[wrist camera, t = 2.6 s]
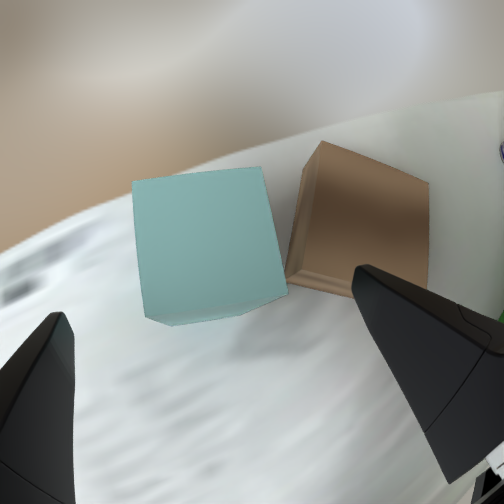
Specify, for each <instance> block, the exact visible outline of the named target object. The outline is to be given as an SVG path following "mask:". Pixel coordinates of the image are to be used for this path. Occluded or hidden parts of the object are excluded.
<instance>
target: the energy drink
mask: <svg viewBox="0 0 504 504" xmlns="http://www.w3.org/2000/svg"><path fill="white" fill-rule="evenodd" d="M500 154H501V158H502V161H503V163H504V142H503V143H502V144H501V147H500Z"/></svg>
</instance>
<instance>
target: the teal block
mask: <svg viewBox="0 0 504 504" xmlns="http://www.w3.org/2000/svg"><path fill="white" fill-rule="evenodd" d="M132 197H133V213H134V226H135V238H136V248H137V258H138V267H139V276H140V284H141V292H142V299H143V306H144V313H145V317H146V318H149V319H152V320H155V321H157V322H160V323H163V324H166V325H169V326H177V325H183V324H190V323H196V322H203V321H209V320H215V319H221V318H227V317H233V316H239V315H242V314H244V313H246V312H248V311H251V310H253V309H255V308H258V307H260V306H262V305H265V304H267V303H269V302H271V301H274V300H276V299H278V298H280V297H283V296H285V295H287V294H289V293H288V289H287V284H286V279H285V274H284V269H283V264H282V260H281V255H280V250H279V245H278V241H277V236H276V231H275V227H274V222H273V218H272V213H271V209H270V204H269V200H268V195H267V191H266V186H265V182H264V177H263V173H262V169H261V167H249V168H238V169H227V170H217V171H207V172H198V173H190V174H182V175H174V176H166V177H159V178H152V179H145V180H138V181H132Z"/></svg>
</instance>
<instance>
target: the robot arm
mask: <svg viewBox="0 0 504 504" xmlns="http://www.w3.org/2000/svg"><path fill="white" fill-rule="evenodd" d="M351 291H352V294H353V297H354V299H355V301H356V303H357V305H358V308H359V310H360V312H361V314H362V317H363V319H364V321H365V323H366V326H367V328H368V330H369V332H370V334H371V335H372V337H373V339H374V341H375V343H376V344H377V346H378V348H379V350H380V351H381V353H382V355H383V357H384V359H385V360H386V362H387V364H388V366H389V368H390V369H391V371H392V373H393V375H394V377H395V379H396V380H397V382H398V384H399V386H400V388H401V390H402V392H403V393H404V395H405V397H406V399H407V401H408V403H409V405H410V407H411V409H412V411H413V413H414V415H415V416H416V418H417V420H418V422H419V424H420V426H421V428H422V430H423V432H424V435H425V437H426V439H427V441H428V443H429V445H430V447H431V449H432V451H433V453H434V455H435V457H436V459H437V461H438V463H439V465H440V468H441V470H442V472H443V474H444V476H445V478H446V480H447V482H448V484H451V483H452V482H454V481H455V480H457V479H458V478H459V477H461V476H462V475H464V474H465V473H466V472H468V471H469V470H471V469H472V468H473V467H475V466H476V465H477V464H478V463H480V462H481V461H482V460H484V459H486V461H487V462H488V464H489V466H490V467H489V468H488V469H487V470H486V471H484V472H483V473H482V474H481V475H479V476H478V477H477V478H476V482H475V487H474V492H473V496H472V501H471V504H504V323H502V322H499V321H497V320H494V319H491V318H489V317H487V316H484V315H482V314H479V313H477V312H475V311H472V310H470V309H468V308H466V307H464V306H462V305H459V304H456V303H455V302H453V301H451V300H448V299H446V298H444V297H442V296H440V295H437V294H435V293H433V292H431V291H429V290H426V289H424V288H422V287H420V286H418V285H415V284H413V283H411V282H409V281H406V280H404V279H402V278H399V277H397V276H395V275H393V274H390V273H388V272H386V271H384V270H381V269H379V268H377V267H374V266H372V265H370V264H363V265H358V266H356V268H355V270H354V275H353V280H352V285H351ZM74 394H75V356H74V333H73V331H72V328H71V326H70V324H69V322H68V320H67V318H66V315H65V314H64V313H63V312H52V313H50V314H49V315H48V316H47V317H46V318H45V319H44V320H43V321H42V323H41V324H40V325H39V326H38V327H37V328H36V329H35V330H34V331H33V332H32V334H31V335H30V336H29V337H28V338H27V339H26V340H25V341H24V343H23V344H22V345H21V346H20V347H19V348H18V349H17V351H16V352H15V353H14V354H13V355H12V356H11V358H10V359H9V360H8V361H7V362H6V363H5V365H4V366H3V367H2V368H1V369H0V504H76V502H75V488H74V468H73V415H74Z"/></svg>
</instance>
